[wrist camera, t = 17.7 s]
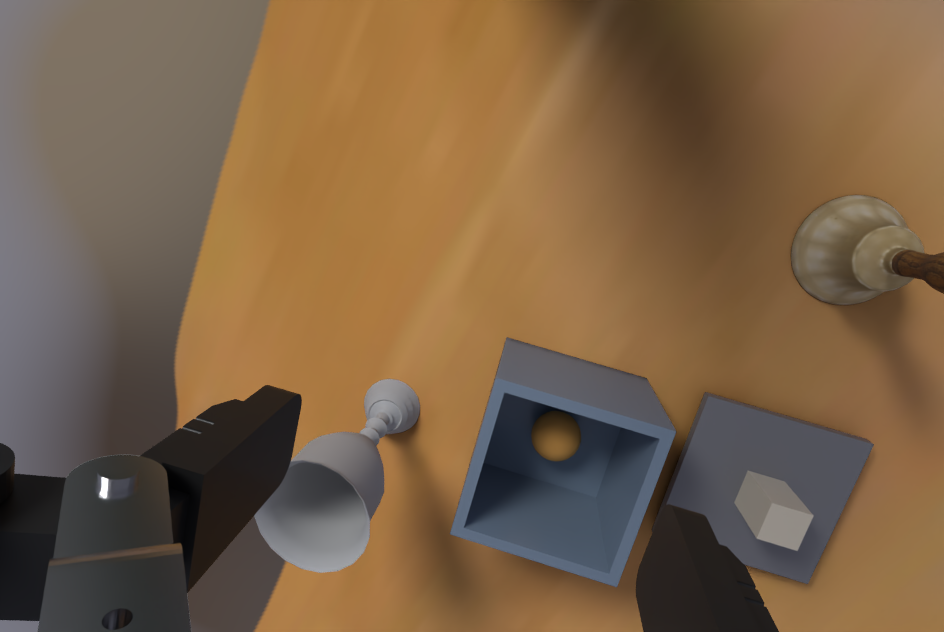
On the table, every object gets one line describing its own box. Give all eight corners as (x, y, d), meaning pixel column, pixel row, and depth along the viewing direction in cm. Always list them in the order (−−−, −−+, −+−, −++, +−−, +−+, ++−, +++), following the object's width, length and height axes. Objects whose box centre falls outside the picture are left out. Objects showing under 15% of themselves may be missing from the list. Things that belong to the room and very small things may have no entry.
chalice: (447, 415, 50) (395, 533, 33) (390, 458, 52) (311, 593, 34) (393, 352, 49) (310, 437, 32) (337, 397, 51) (229, 502, 33)
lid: (701, 386, 47) (728, 420, 40) (858, 432, 46) (914, 475, 39) (649, 521, 50) (666, 574, 43) (796, 567, 49) (838, 628, 42)
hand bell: (857, 324, 44) (1026, 393, 29) (767, 268, 44) (887, 306, 29) (933, 233, 42) (1158, 254, 27) (838, 173, 42) (1009, 160, 27)
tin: (506, 337, 48) (495, 377, 37) (646, 378, 47) (676, 431, 36) (469, 462, 51) (450, 534, 40) (601, 503, 50) (616, 587, 39)
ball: (538, 397, 48) (539, 416, 44) (585, 411, 48) (589, 431, 44) (525, 439, 49) (524, 462, 45) (570, 453, 49) (574, 476, 45)
